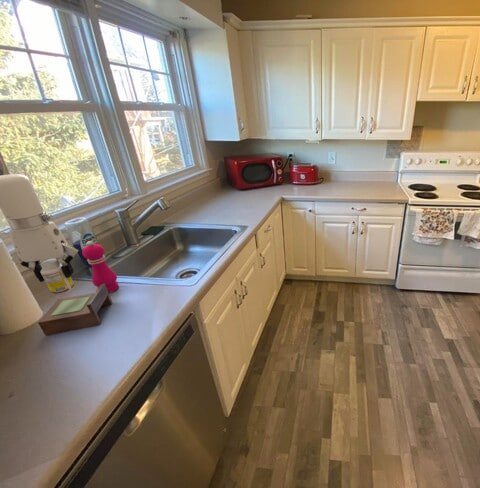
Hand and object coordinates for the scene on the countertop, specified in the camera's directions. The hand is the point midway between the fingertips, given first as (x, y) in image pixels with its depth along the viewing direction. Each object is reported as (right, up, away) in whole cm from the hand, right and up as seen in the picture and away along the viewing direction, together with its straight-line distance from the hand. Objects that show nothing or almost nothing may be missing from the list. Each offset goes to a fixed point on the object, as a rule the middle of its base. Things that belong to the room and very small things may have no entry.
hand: (57, 277), depth 84 cm
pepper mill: (-1, -7, +22) cm, 23 cm away
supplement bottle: (0, -5, +2) cm, 5 cm away
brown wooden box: (+1, -14, +7) cm, 16 cm away
